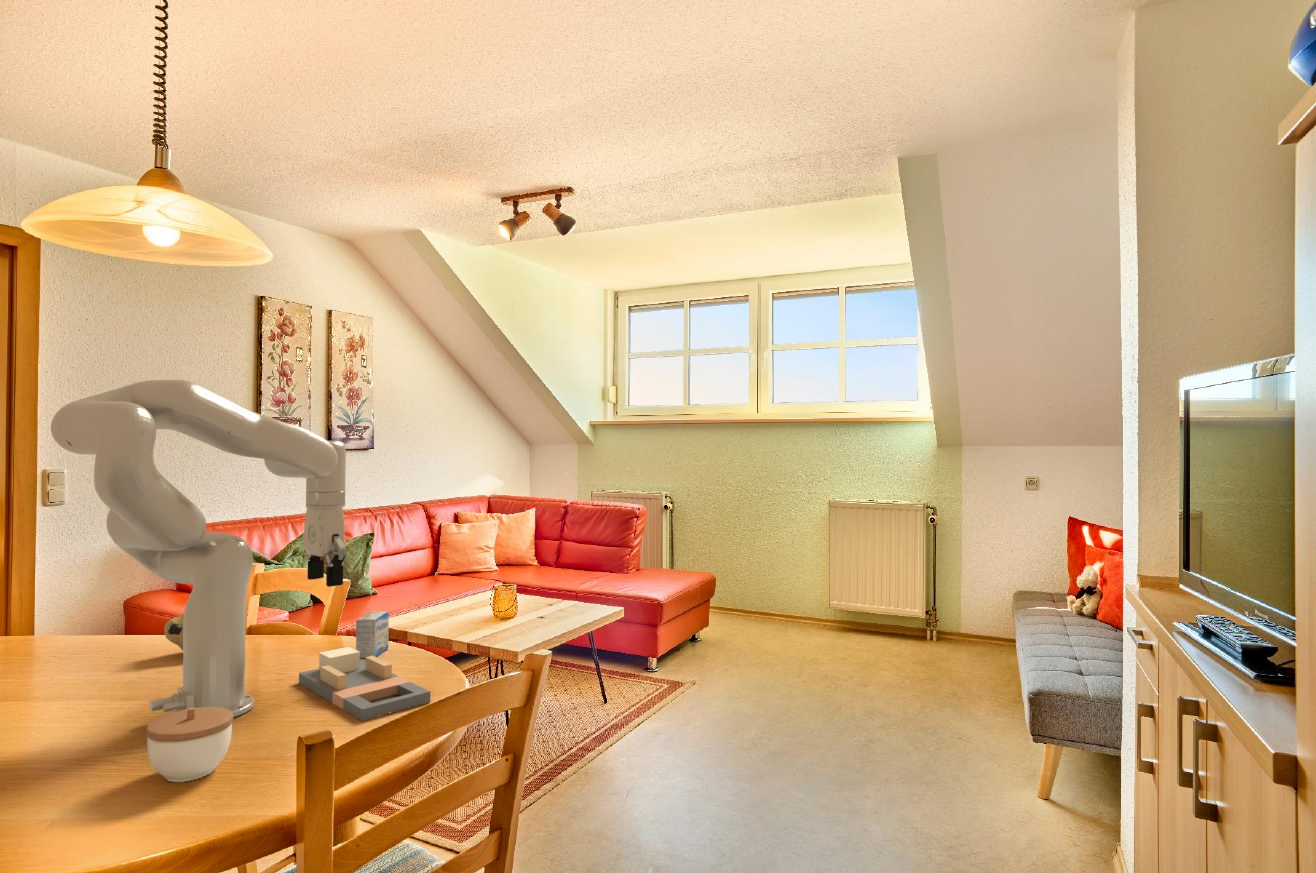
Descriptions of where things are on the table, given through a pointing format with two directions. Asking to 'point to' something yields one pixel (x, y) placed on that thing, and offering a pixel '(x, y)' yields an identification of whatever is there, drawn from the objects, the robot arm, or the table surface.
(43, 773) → the table surface
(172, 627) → the toy pig
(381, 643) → the medicine box
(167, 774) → the lidded jar
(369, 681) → the deck
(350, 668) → the block
